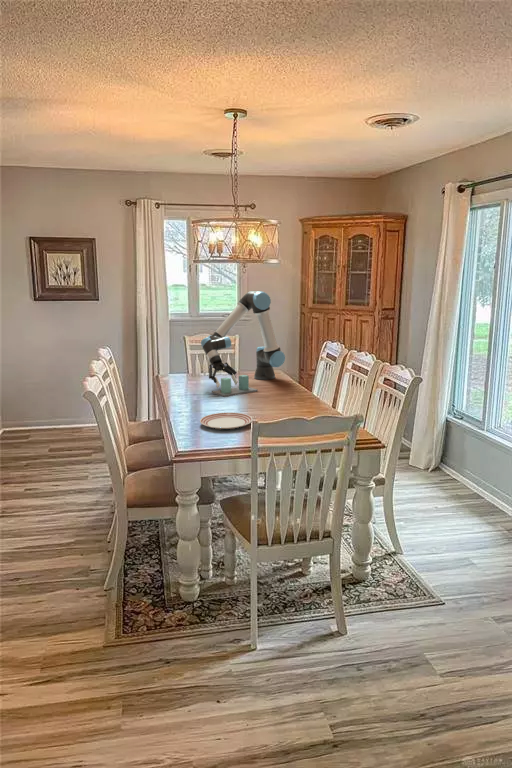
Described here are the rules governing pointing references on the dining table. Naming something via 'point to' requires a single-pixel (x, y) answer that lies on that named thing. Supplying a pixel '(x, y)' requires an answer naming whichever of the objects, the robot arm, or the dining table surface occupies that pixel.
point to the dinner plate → (226, 420)
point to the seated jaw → (243, 382)
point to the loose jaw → (225, 385)
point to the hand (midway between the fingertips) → (228, 384)
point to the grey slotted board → (235, 392)
